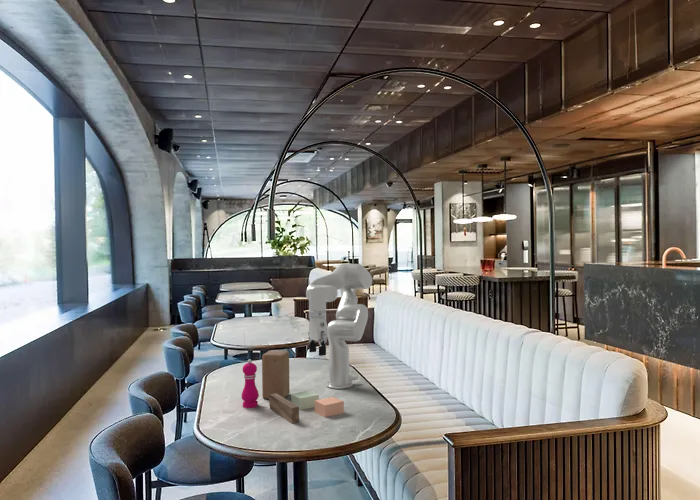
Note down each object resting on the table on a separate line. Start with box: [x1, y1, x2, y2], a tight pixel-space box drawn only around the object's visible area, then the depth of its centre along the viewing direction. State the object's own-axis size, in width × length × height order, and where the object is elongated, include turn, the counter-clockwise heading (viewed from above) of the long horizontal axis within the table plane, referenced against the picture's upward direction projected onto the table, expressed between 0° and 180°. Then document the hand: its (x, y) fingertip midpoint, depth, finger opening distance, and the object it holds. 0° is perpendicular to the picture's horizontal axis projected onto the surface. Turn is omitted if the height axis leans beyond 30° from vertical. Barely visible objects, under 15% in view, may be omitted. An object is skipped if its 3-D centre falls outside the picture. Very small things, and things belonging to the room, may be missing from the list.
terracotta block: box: [314, 396, 345, 418], centre depth 222 cm, size 9×8×5 cm
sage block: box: [290, 390, 320, 411], centre depth 232 cm, size 9×8×5 cm
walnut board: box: [269, 393, 300, 424], centre depth 219 cm, size 3×22×6 cm, turn 31°
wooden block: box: [261, 350, 291, 400], centre depth 246 cm, size 10×10×20 cm
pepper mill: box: [241, 358, 260, 409], centre depth 232 cm, size 7×7×20 cm
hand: (317, 353), depth 239 cm, fingers open, 9 cm apart
